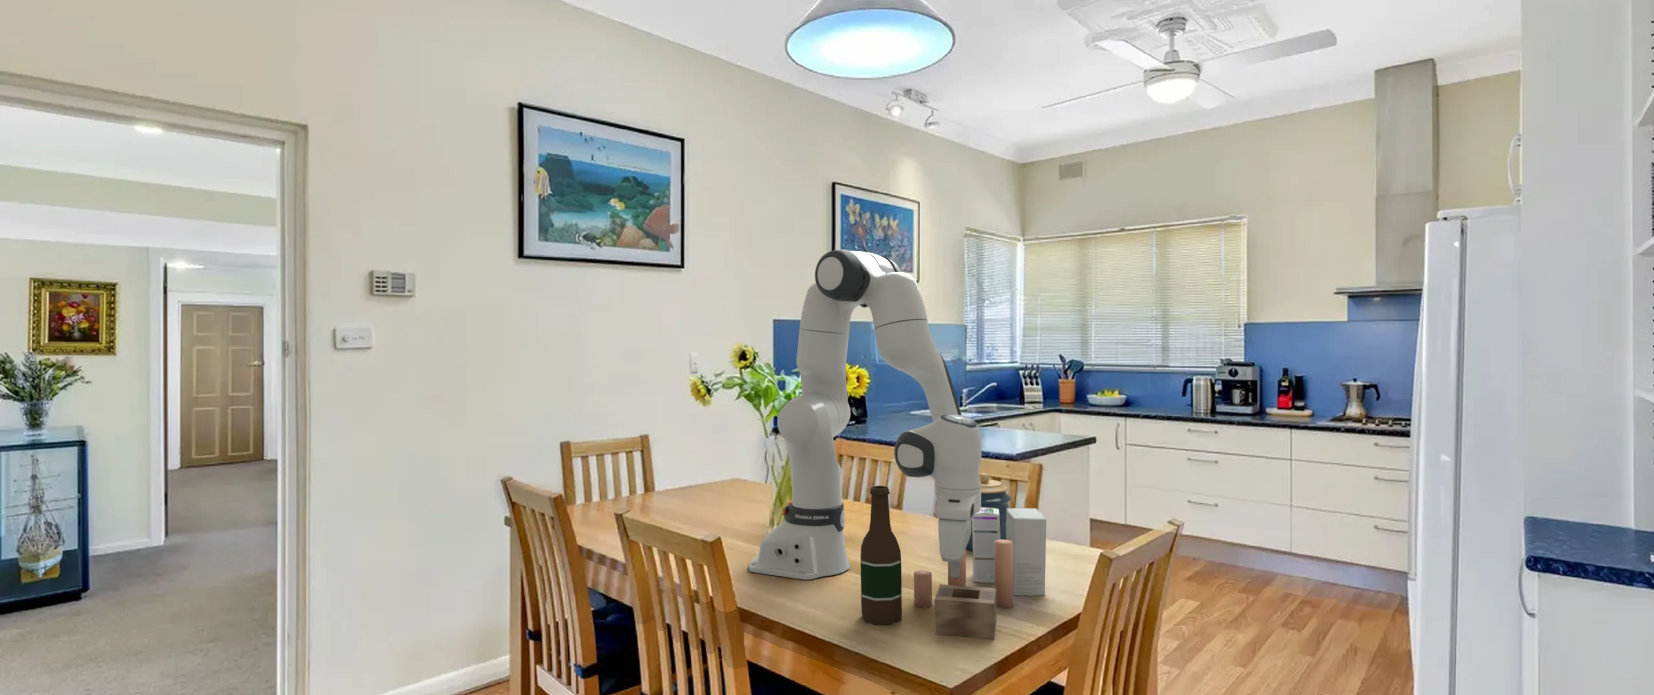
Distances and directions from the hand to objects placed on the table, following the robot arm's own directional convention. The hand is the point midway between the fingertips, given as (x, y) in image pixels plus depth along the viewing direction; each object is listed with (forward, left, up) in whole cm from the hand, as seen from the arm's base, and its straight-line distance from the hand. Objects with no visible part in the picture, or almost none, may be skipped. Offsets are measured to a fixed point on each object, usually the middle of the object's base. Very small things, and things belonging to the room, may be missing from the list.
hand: (956, 572), depth 146 cm
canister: (+3, +42, -6) cm, 43 cm away
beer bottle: (-13, -11, -6) cm, 18 cm away
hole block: (+3, -12, -6) cm, 14 cm away
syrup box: (+5, +16, -6) cm, 18 cm away
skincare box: (+13, +11, -6) cm, 18 cm away
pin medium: (0, 0, -5) cm, 5 cm away
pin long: (+9, +1, -6) cm, 11 cm away
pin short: (-6, -2, -6) cm, 9 cm away
